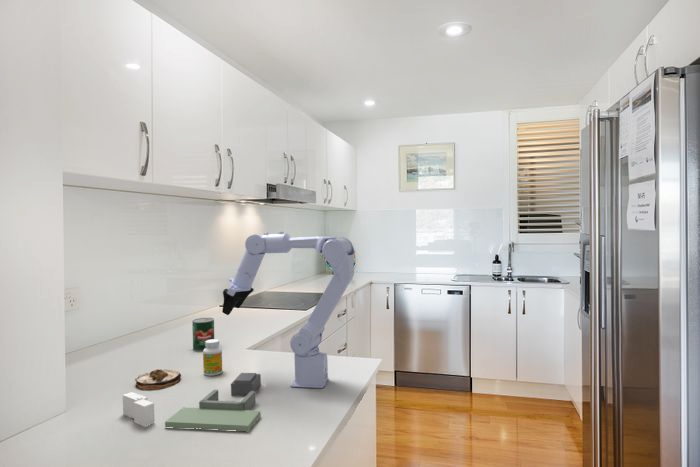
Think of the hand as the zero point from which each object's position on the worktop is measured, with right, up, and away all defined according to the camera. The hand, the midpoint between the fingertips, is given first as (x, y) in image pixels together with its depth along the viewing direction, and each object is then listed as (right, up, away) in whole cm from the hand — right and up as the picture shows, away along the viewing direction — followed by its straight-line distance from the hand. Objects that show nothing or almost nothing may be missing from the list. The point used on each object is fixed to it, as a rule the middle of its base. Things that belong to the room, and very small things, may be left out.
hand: (230, 310), depth 136 cm
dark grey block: (+8, -21, -12) cm, 25 cm away
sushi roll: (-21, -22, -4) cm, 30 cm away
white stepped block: (-15, -22, -29) cm, 40 cm away
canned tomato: (-19, -20, +31) cm, 42 cm away
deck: (+5, -21, -28) cm, 35 cm away
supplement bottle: (-7, -21, +3) cm, 22 cm away
